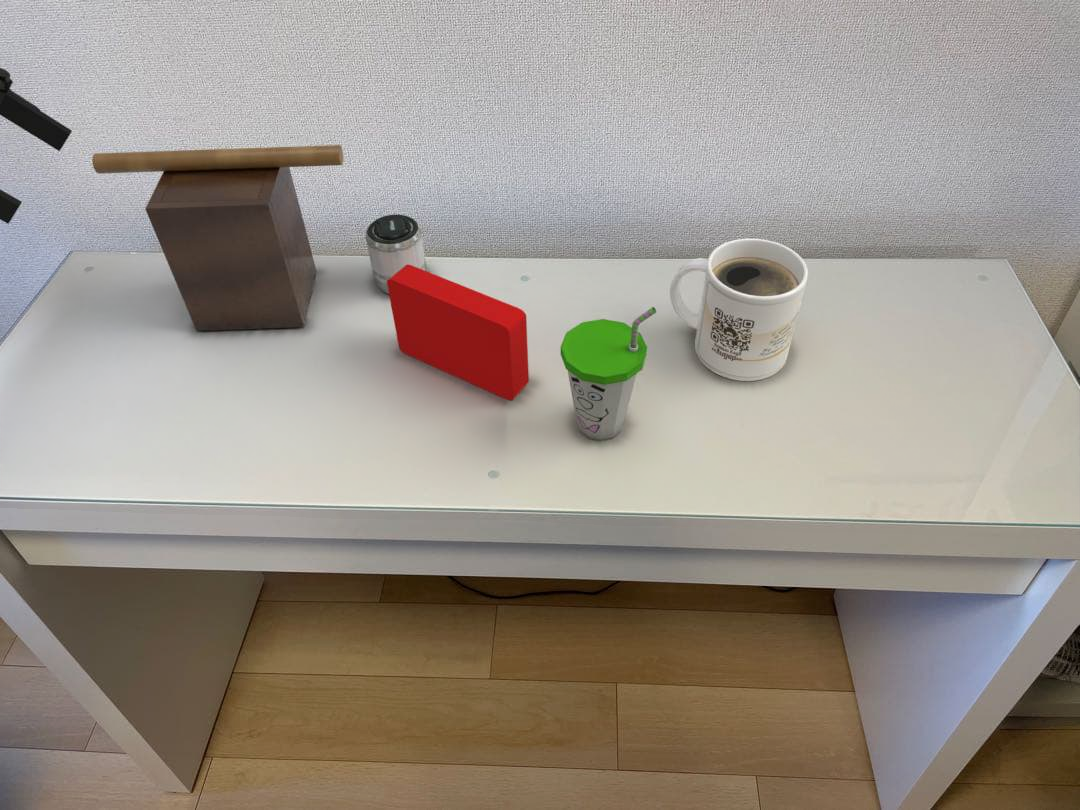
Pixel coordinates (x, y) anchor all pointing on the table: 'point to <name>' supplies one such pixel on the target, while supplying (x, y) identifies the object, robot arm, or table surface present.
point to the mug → (745, 307)
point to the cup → (603, 372)
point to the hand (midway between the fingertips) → (42, 175)
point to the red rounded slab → (460, 331)
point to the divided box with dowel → (232, 230)
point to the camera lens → (394, 246)
